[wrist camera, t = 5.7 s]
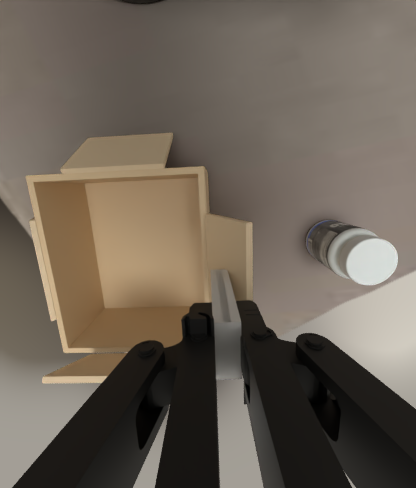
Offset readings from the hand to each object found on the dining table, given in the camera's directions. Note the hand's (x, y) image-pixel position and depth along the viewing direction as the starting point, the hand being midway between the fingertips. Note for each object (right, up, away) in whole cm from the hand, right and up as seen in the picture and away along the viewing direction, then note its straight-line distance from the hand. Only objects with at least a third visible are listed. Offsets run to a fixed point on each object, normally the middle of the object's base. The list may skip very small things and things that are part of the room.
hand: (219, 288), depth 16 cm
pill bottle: (+13, +4, +11) cm, 17 cm away
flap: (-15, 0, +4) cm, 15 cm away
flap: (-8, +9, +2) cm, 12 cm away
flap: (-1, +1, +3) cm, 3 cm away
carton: (-7, +3, +12) cm, 14 cm away
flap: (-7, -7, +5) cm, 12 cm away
